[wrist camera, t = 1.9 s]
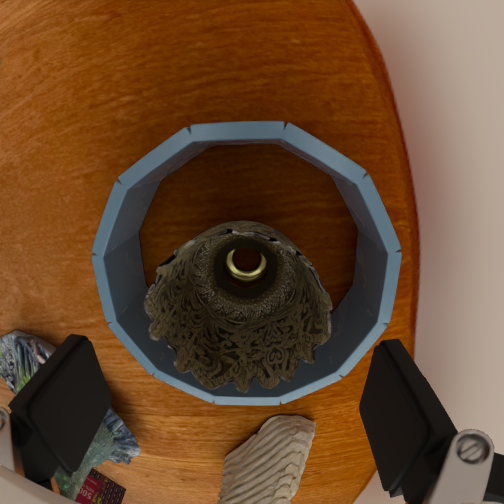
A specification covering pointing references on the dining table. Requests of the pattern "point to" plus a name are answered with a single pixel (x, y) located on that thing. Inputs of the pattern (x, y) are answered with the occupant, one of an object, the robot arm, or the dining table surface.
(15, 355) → the tree stump
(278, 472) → the fossil tooth
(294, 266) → the cup
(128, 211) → the ring
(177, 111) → the dining table surface
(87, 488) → the box
